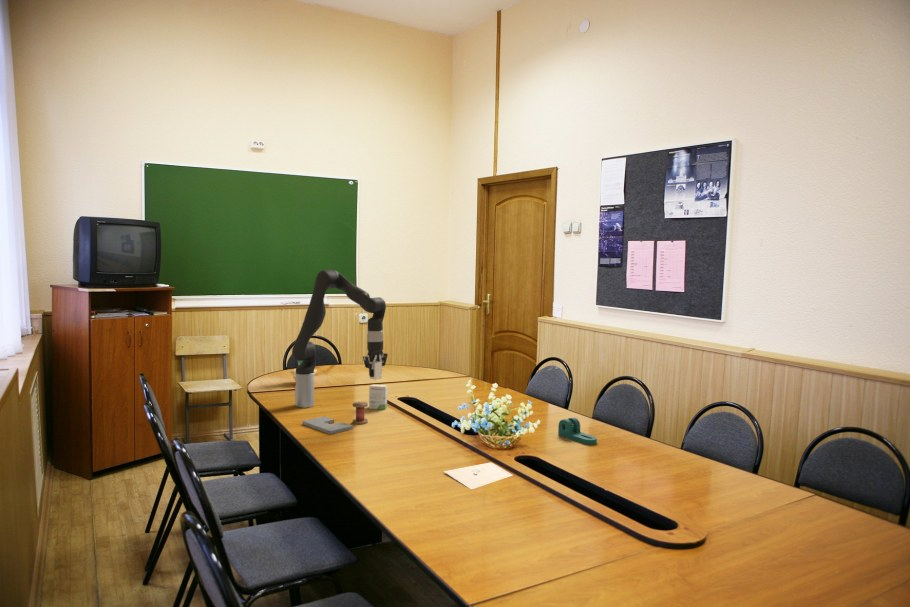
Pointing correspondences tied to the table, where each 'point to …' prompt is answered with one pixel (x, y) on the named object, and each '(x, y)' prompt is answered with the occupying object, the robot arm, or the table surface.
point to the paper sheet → (478, 474)
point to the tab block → (377, 370)
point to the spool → (360, 413)
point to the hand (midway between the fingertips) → (375, 375)
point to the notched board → (327, 425)
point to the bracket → (574, 432)
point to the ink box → (378, 397)
